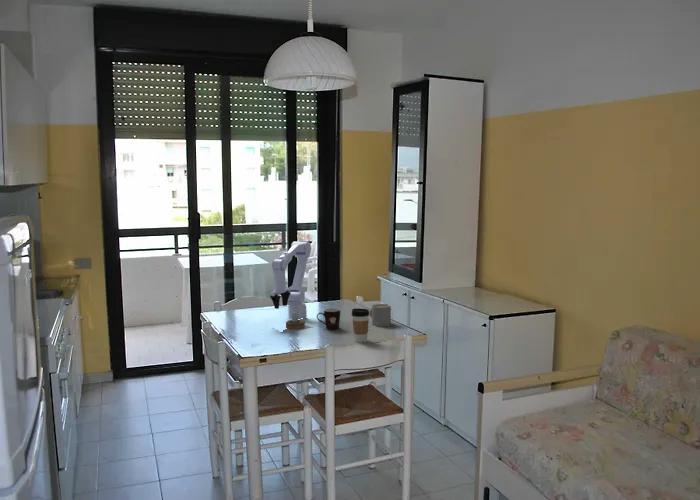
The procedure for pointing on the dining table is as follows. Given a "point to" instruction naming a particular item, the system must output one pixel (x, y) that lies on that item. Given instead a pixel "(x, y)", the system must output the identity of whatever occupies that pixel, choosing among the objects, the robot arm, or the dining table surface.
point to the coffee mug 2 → (381, 314)
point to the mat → (295, 330)
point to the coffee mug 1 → (331, 318)
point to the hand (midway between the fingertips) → (280, 307)
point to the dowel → (294, 317)
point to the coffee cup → (360, 324)
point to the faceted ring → (295, 325)
